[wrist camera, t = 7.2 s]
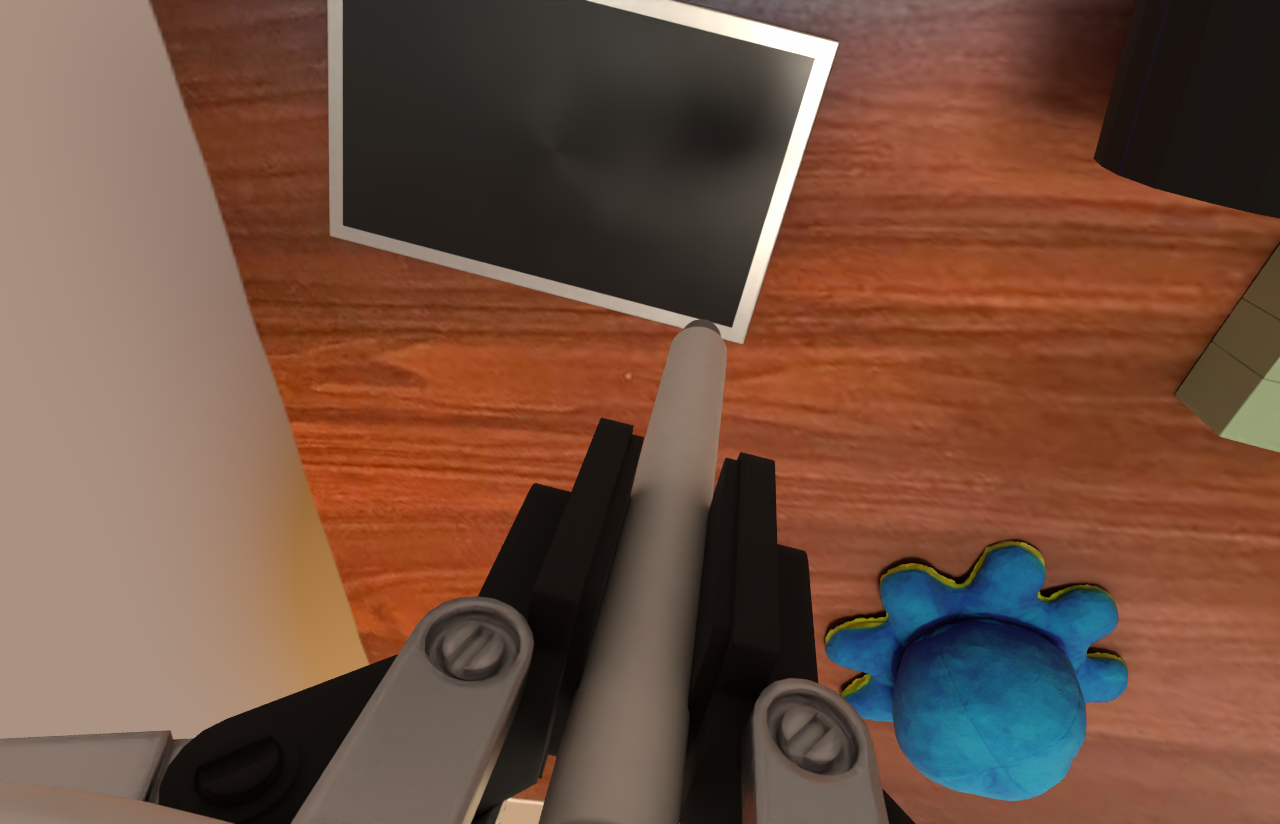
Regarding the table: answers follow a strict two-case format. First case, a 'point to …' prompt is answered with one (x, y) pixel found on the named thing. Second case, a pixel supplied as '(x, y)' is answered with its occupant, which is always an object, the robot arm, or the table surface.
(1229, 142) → the black wheel
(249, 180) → the table surface
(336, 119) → the tablet
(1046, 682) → the plush toy
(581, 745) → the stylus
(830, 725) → the robot arm
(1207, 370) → the pen stand
